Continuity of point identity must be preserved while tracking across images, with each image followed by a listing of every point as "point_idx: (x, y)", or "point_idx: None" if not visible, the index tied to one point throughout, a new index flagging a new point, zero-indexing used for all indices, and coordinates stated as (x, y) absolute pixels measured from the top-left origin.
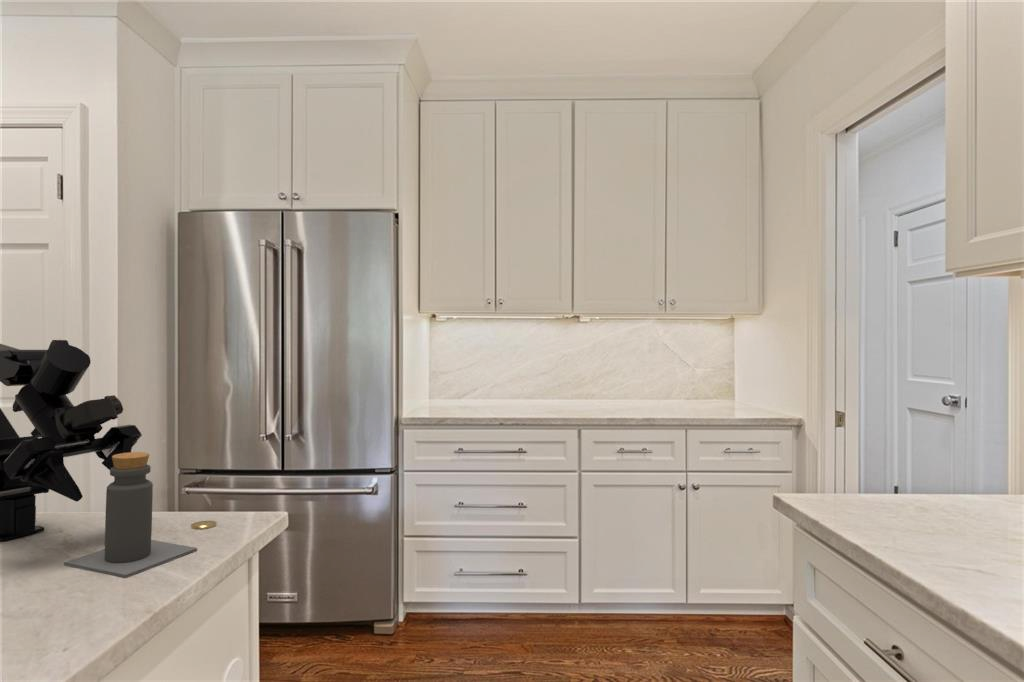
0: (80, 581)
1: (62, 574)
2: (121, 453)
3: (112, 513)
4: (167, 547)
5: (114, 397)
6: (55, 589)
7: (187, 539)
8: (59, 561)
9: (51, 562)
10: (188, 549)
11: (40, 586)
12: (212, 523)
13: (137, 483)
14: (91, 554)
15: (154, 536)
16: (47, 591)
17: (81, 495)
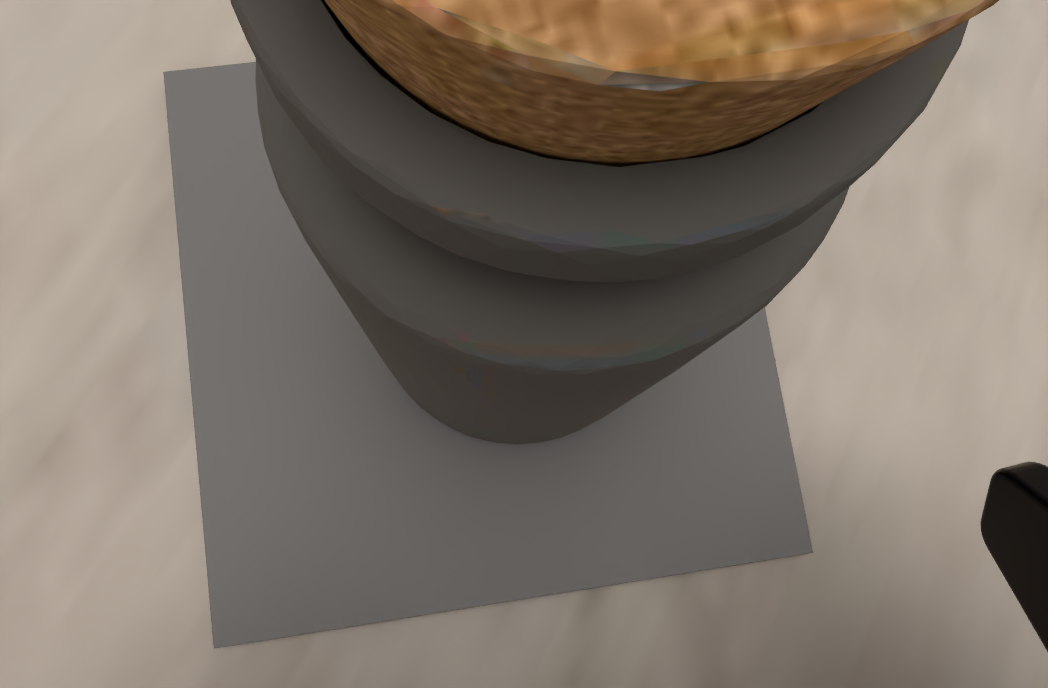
0: (870, 183)
1: (882, 384)
2: (734, 1)
3: (748, 143)
4: (260, 250)
5: None
6: (1001, 180)
7: (24, 354)
8: (789, 657)
9: (828, 682)
10: (214, 95)
11: (1034, 293)
12: None
13: None
14: (633, 555)
15: (94, 644)
16: (1038, 187)
17: (1022, 470)
